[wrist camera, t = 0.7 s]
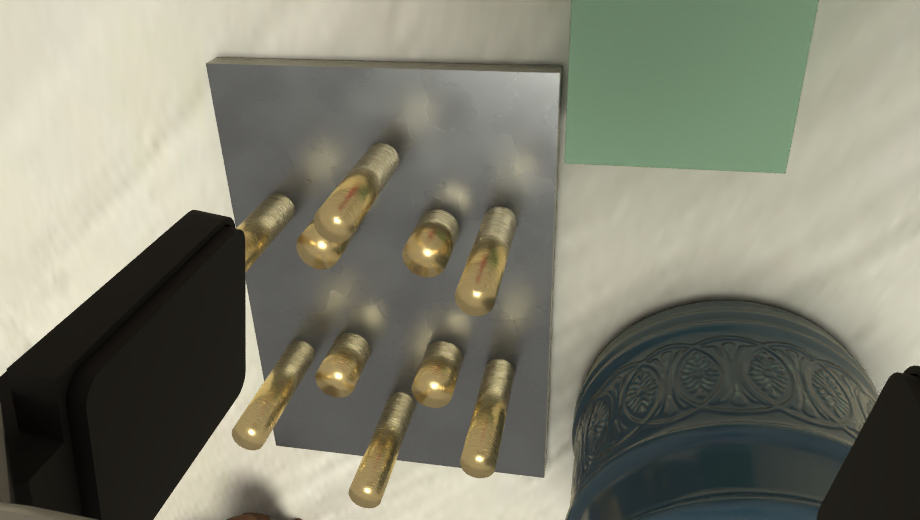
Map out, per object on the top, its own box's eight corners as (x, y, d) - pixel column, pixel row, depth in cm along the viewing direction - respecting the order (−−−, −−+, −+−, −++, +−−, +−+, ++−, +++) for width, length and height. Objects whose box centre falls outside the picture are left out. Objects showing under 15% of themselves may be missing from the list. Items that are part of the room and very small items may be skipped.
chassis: (562, 65, 29) (544, 127, 23) (546, 463, 39) (530, 580, 33) (217, 57, 31) (119, 110, 25) (283, 432, 41) (224, 535, 35)
